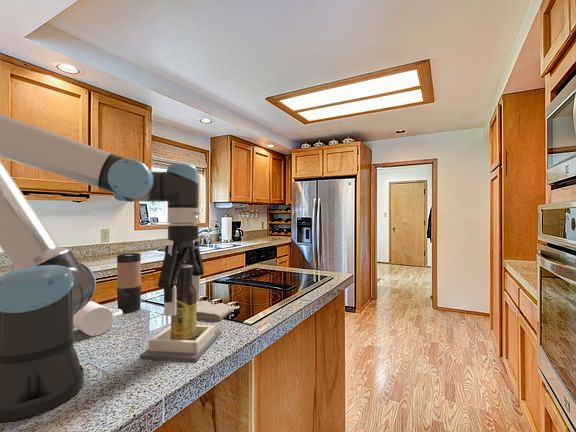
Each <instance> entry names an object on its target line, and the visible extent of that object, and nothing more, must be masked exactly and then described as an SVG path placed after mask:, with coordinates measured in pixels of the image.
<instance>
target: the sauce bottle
mask: <svg viewBox="0 0 576 432" xmlns="http://www.w3.org/2000/svg"><path fill="white" fill-rule="evenodd" d="M192 272H193V266H192V265H187V264H182V266H181V268H180V271H179V274H178V277H177V280H176V283H175V287H176V303H177V315H175V316H170V325H171V339H173V340H195V338H196V337H195V335H196V325H197V318H196V311H197V301H198V300H196V295H197V292H196V289H195V287H194V286H193V284H192V281H193V280H192V276H193V275H192Z"/></svg>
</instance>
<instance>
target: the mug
mask: <svg viewBox="0 0 576 432" xmlns="http://www.w3.org/2000/svg"><path fill="white" fill-rule="evenodd" d="M123 315H124V313H123V312H122V310H120V309H118V308H108V307H106V306H104V305H102V304H100V303H96V302H95V301H92V300H90V301H89V302H88V303H87V304H86V305H85V306H84V307H83V308H82V309H80V310H79V311H78V312H77V313H76V314H75V315H74V316H73V328H77V330H80V331H81V332H82V333H84V334H86V335H87V336H91V337H97V336H101V335H103V334H104V333H106V332H107V331H108V330H109V329H110V328H111V327H112V325H113V323H114V322H113V321H114V319H116V318H119V317H121V316H123Z"/></svg>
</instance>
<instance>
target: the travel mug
mask: <svg viewBox="0 0 576 432" xmlns="http://www.w3.org/2000/svg"><path fill="white" fill-rule="evenodd" d="M141 255H142V254H141V253H139V252H138V253H136V252H135V253H134V252H133V253H132V252H131V253H130V252H129V253H121V254H117V255H116V297H117V299H116V300H117V309H120V310H122V312H123V314H130V313H135V312H138V311H140V310H141V302H142V301H141V297H142V296H141V295H142V268H141V267H142V265H141V263H142V262H141V260H142V259H141V257H142V256H141Z"/></svg>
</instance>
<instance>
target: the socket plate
mask: <svg viewBox="0 0 576 432" xmlns="http://www.w3.org/2000/svg"><path fill="white" fill-rule="evenodd" d="M221 333H222V332H221V330H220V331H217V330H216V325H214V324H213V325H211V324H196V335H195V337H196V338H195V340H173V339H171V324H170V325H168V326H167V327H165V328H164V329H163V330H162V331H160V332H159V333H158V334H156V335H155V336H153V337H152V338H150V339H149V340H148V348H147V349H146V350H145V351H144V352H142V353H141V354H140V355H139V358H140V359H142V360H143V359H144V360H163V361H165V360H166V361H182V362H197V361H199V359H200V358H202V356H203V355H205V353H206V352H207V351H208V350H209V349H210V347H211V346H212V345H213V344H214V343H215V342H216V340H217V339H218V338H219V337H221V335H222V334H221Z"/></svg>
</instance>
